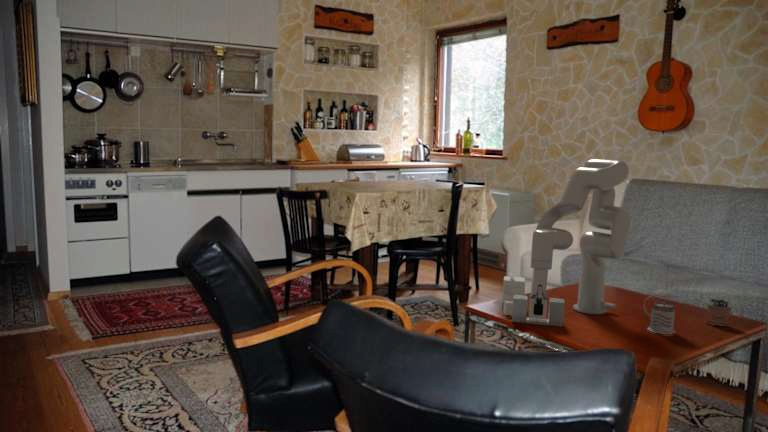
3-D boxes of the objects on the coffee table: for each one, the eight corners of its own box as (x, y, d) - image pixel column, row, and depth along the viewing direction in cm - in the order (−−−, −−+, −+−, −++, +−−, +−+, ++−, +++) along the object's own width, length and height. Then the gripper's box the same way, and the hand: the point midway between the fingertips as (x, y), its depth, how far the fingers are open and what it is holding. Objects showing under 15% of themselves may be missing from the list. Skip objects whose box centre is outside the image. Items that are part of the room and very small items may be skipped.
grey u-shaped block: (561, 322, 237) (563, 298, 236) (562, 327, 231) (564, 303, 230) (512, 317, 241) (513, 294, 240) (511, 322, 235) (513, 298, 234)
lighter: (728, 325, 243) (731, 299, 242) (730, 327, 240) (733, 301, 239) (704, 322, 246) (707, 296, 245) (706, 324, 243) (709, 298, 241)
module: (545, 315, 238) (546, 294, 237) (545, 319, 232) (547, 297, 231) (528, 313, 239) (530, 292, 238) (528, 317, 234) (530, 296, 233)
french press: (674, 337, 225) (681, 267, 222) (639, 330, 231) (645, 262, 228) (678, 330, 233) (685, 262, 230) (644, 324, 239) (650, 258, 236)
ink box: (523, 311, 251) (525, 277, 250) (501, 309, 253) (503, 275, 251) (523, 305, 260) (525, 273, 258) (502, 303, 261) (504, 271, 260)
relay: (513, 313, 248) (514, 300, 247) (516, 316, 244) (516, 303, 243) (503, 312, 248) (504, 300, 247) (505, 315, 244) (506, 302, 243)
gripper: (530, 258, 242) (527, 305, 245) (531, 267, 226) (527, 317, 228) (550, 260, 241) (547, 307, 243) (553, 269, 224) (549, 319, 226)
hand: (537, 312), depth 235 cm, fingers closed on module, 5 cm apart
